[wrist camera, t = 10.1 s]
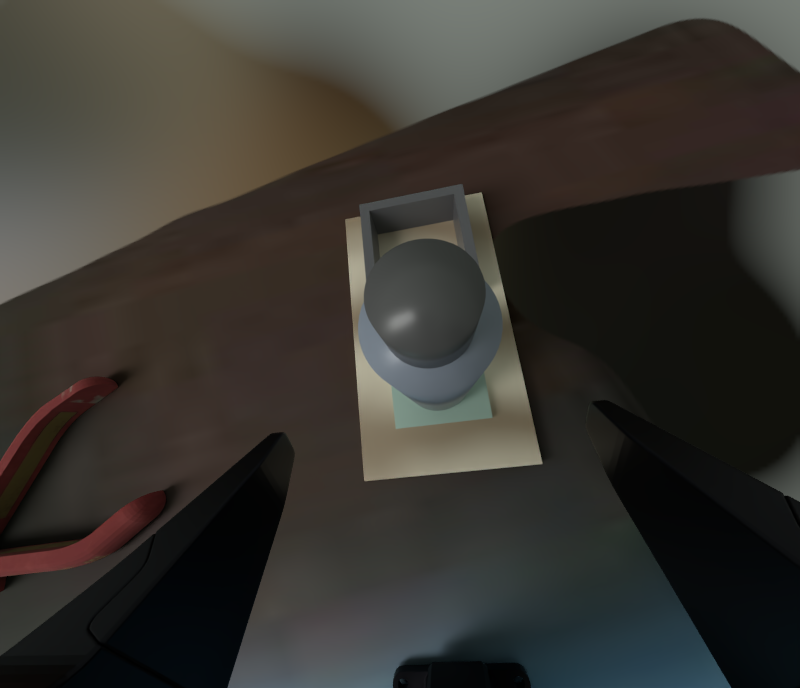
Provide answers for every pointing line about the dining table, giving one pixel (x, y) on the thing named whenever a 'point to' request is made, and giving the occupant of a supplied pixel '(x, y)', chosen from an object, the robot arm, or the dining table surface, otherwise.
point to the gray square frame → (415, 218)
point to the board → (512, 420)
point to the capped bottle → (429, 322)
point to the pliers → (21, 464)
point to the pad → (466, 410)
